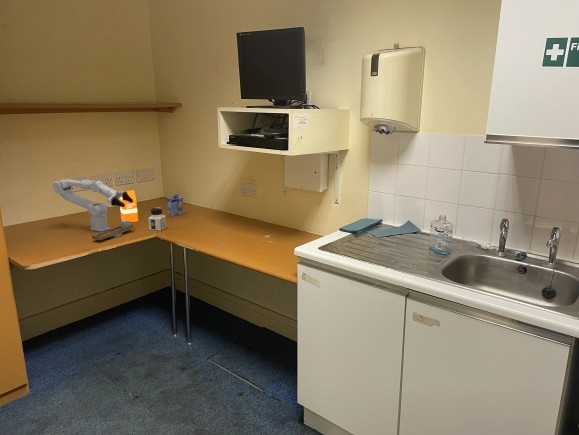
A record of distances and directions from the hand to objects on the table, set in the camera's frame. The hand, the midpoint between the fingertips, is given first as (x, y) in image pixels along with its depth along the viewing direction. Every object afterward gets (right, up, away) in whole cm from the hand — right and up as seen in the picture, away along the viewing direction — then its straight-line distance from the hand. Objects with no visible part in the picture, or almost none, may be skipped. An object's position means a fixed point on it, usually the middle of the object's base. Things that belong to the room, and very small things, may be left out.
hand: (128, 203), depth 264 cm
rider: (-4, -14, +5) cm, 15 cm away
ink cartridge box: (+17, -7, +45) cm, 48 cm away
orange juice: (-10, -11, +30) cm, 33 cm away
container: (+14, -15, +12) cm, 24 cm away
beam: (-7, -19, -3) cm, 21 cm away
